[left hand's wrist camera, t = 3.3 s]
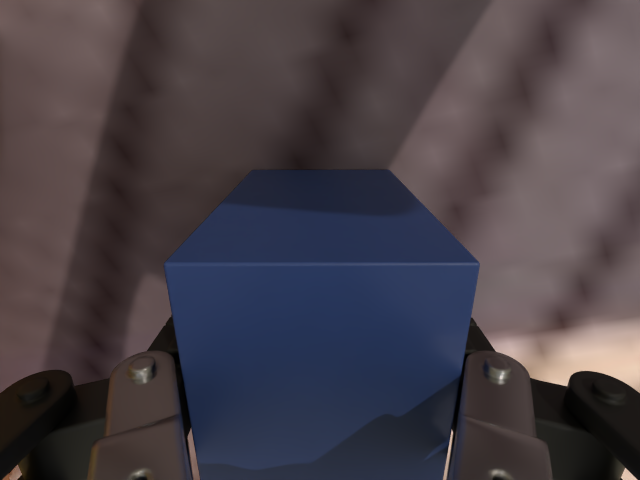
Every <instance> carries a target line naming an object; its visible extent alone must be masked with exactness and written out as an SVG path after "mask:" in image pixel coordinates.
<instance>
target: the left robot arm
mask: <svg viewBox="0 0 640 480" xmlns="http://www.w3.org/2000/svg"><path fill="white" fill-rule="evenodd" d="M190 429H191V422H190V416H189V411H188V405H187V399H186V393H185V387H184V381H183V376H182V370H181V364H180V358H179V352H178V346H177V340H176V335H175V329H174V323H173V317H172V315H171V317H170V318H169V320H168V321H167V322H166V326H164V327H163V328H162V330H161V331H160V333H159V334H158V336H157V337H156V339H155V340H154V341H153V343H152V344H151V346H150V347H149V349H148V350H147V351H146V352H142V353H138V354H136V355H133V356H131V357H129V358H127V359H125V360H124V361H122V362H121V363H120V364H118V365H117V366H116V367H115V369H114V370H113V371H112V373H111V376H110V378H108V379H105V380H100V381H96V382H91V383H87V384H82V385H77V386H74V384H73V380H72V377H71V375H70V374H69V373H68V372H65V371H62V370H49V371H43V372H39V373H36V374H33V375H30V376H28V377H25V378H23V379H21V380H19V381H17V382H16V383H14V384H12V385H11V386H9V387H8V388H7V389H5V390H4V391H3V392H1V393H0V480H2V479H3V478H4V477H5V476H7V475H8V474H9V473H10V472H11V471H12V470H13V469H14V468H15V467H16V466H17V465H18V466H19V468H20V471H21V473H22V475H21V476H20V478H19V479H18V480H194V479H193V472H192V464H191V457H190V450H189V443H188V434H189V431H190ZM452 431H453V437H452V443H451V449H450V457H449V464H448V472H447V479H446V480H622V479H621V476H622V474H623V471H624V469H625V468H626V469H627V470H628V471H629V472H630V473H631V474H632V475H634V476H635V477H636V478H637V479H638V480H640V393H639V392H637V391H636V390H635V389H633V388H632V387H630V386H629V385H627V384H626V383H624V382H622V381H620V380H618V379H616V378H614V377H611V376H608V375H605V374H602V373H598V372H592V371H580V372H576V373H574V374H573V375H571V377H570V379H569V383H568V386H562V385H558V384H553V383H548V382H544V381H539V380H535V379H532V378H530V376H529V373H528V371H527V370H526V369H525V367H524V366H523V365H522V364H520V363H519V362H518V361H516V360H515V359H513V358H511V357H509V356H507V355H504V354H502V353H498V352H496V351H495V350H494V348H493V347H492V346H491V344H490V343H489V341H488V340H487V338H486V337H485V335H484V334H483V333H482V331H481V330H480V328H479V327H478V326H477V324H476V322H475V321H474V320H473V318H471V319H470V325H469V331H468V337H467V342H466V348H465V354H464V360H463V366H462V371H461V377H460V383H459V389H458V395H457V401H456V406H455V412H454V418H453V424H452Z"/></svg>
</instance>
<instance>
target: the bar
mask: <svg viewBox="0 0 640 480" xmlns="http://www.w3.org/2000/svg"><path fill="white" fill-rule="evenodd" d="M479 267H480V264H479V262H478V261H477V260H476V259H475V258H474V257H473V256H472V255H471V254H470V252H469V251H468V250H467V249H466V248H465V247H464V246H463V245H462V244H461V243H460V242H459V241H458V240H457V239H456V238H455V237H454V236H453V235H452V234H451V233H450V232H449V231H448V230H447V229H446V228H445V227H444V226H443V225H442V224H441V223H440V222H439V221H438V220H437V219H436V217H435V216H434V215H433V214H432V213H431V212H430V211H429V210H428V209H427V208H426V207H425V206H424V205H423V204H422V203H421V202H420V201H419V200H418V199H417V198H416V197H415V196H414V195H413V194H412V193H411V192H410V191H409V190H408V189H407V188H406V187H405V186H404V185H403V184H402V182H401V181H400V180H399V179H398V178H397V177H396V176H395V175H394V174H393V173H392V172H391V171H390V170H252V171H251V172H250V173H249V174H248V175H247V176H246V177H245V178H244V179H243V180H242V181H241V182H240V183H239V184H238V186H237V187H236V188H235V189H234V190H233V191H232V192H231V193H230V194H229V195H228V196H227V197H226V198H225V199H224V200H223V201H222V202H221V203H220V205H219V206H218V207H217V208H216V209H215V210H214V211H213V212H212V213H211V214H210V215H209V216H208V217H207V218H206V219H205V220H204V221H203V222H202V224H201V225H200V226H199V227H198V228H197V229H196V230H195V231H194V232H193V233H192V234H191V235H190V236H189V237H188V238H187V239H186V240H185V241H184V243H183V244H182V245H181V246H180V247H179V248H178V249H177V250H176V251H175V252H174V253H173V254H172V255H171V256H170V257H169V258H168V259H167V260H166V262H165V263H164V270H165V276H166V282H167V288H168V294H169V300H170V305H171V311H172V317H173V323H174V329H175V335H176V340H177V346H178V352H179V358H180V364H181V370H182V376H183V381H184V387H185V393H186V399H187V405H188V411H189V416H190V422H191V428H192V434H193V440H194V446H195V452H196V457H197V463H198V469H199V475H200V480H443V476H444V470H445V464H446V459H447V453H448V447H449V441H450V435H451V430H452V424H453V418H454V412H455V406H456V401H457V395H458V389H459V383H460V377H461V371H462V366H463V360H464V354H465V348H466V342H467V337H468V331H469V325H470V319H471V313H472V308H473V302H474V296H475V290H476V284H477V279H478V273H479Z"/></svg>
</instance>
